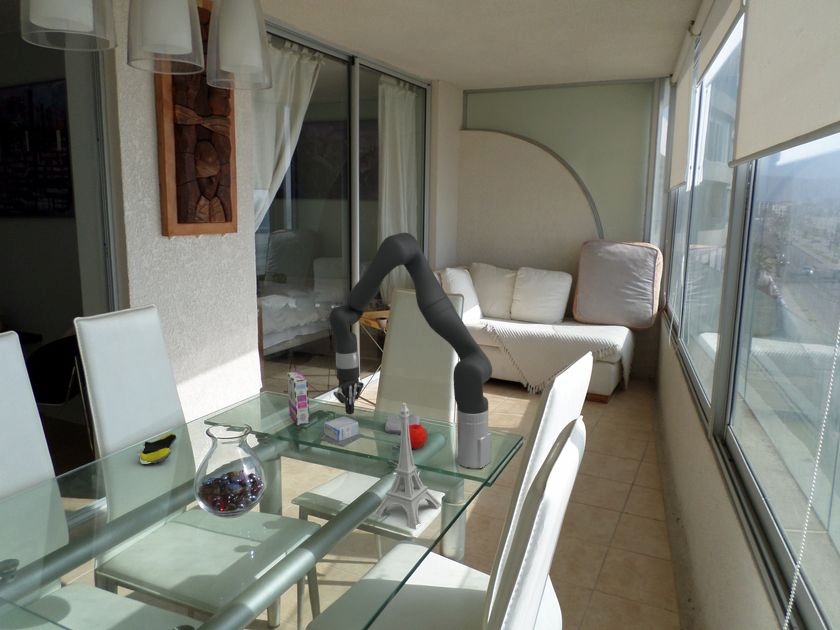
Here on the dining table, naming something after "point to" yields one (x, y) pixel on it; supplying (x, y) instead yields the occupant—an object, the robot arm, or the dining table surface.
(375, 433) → the dining table surface
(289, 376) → the candy bar box
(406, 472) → the eiffel tower
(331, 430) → the medicine box
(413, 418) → the stone block
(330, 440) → the mat
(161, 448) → the yellow black curved piece
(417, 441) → the apple
